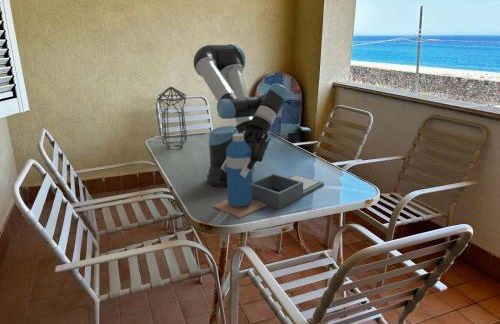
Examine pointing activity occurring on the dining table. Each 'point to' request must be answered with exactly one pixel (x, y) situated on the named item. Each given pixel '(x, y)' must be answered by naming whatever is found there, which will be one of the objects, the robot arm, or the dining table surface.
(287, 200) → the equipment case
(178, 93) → the geometric lantern
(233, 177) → the water bottle
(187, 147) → the dining table surface
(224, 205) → the terracotta tile
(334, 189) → the dining table surface
